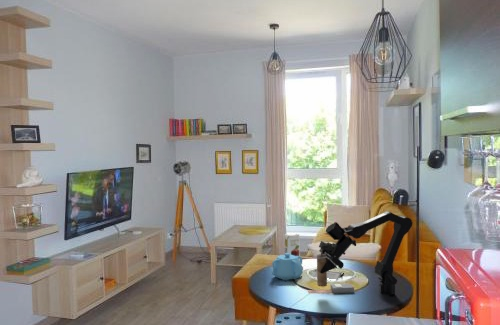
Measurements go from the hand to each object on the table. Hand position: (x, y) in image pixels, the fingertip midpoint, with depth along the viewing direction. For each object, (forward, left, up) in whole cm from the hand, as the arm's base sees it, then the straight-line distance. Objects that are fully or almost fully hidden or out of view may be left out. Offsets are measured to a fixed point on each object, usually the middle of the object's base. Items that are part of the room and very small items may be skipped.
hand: (319, 271), depth 184 cm
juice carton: (+3, -60, -14) cm, 62 cm away
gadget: (-12, -33, -14) cm, 38 cm away
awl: (-1, 0, -7) cm, 7 cm away
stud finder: (-13, -7, -12) cm, 19 cm away
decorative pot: (+10, -34, -14) cm, 38 cm away
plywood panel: (-7, -2, -13) cm, 15 cm away
